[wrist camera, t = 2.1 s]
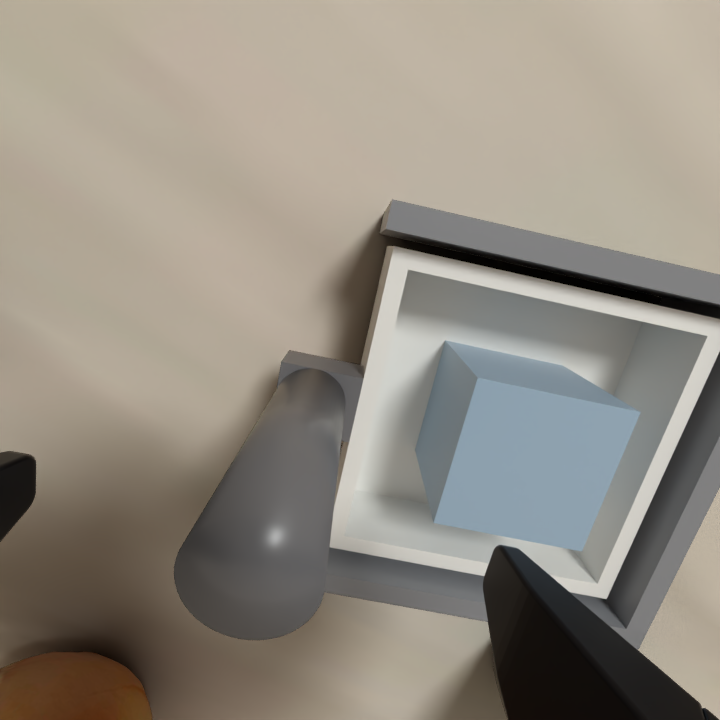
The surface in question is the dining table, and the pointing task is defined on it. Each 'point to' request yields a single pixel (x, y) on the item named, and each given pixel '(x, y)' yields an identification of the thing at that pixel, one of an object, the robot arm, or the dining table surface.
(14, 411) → the dining table surface
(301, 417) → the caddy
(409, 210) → the bay
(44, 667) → the onion
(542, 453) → the light blue cube
